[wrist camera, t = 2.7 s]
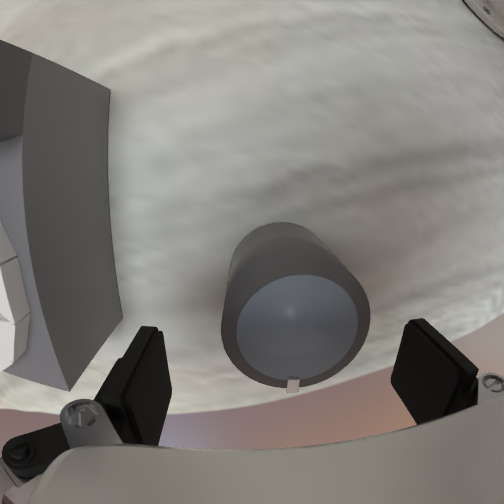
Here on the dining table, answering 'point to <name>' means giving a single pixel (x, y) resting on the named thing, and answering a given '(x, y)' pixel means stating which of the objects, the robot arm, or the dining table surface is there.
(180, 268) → the dining table surface
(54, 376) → the camera body
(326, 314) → the lens
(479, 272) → the dining table surface
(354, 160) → the dining table surface
